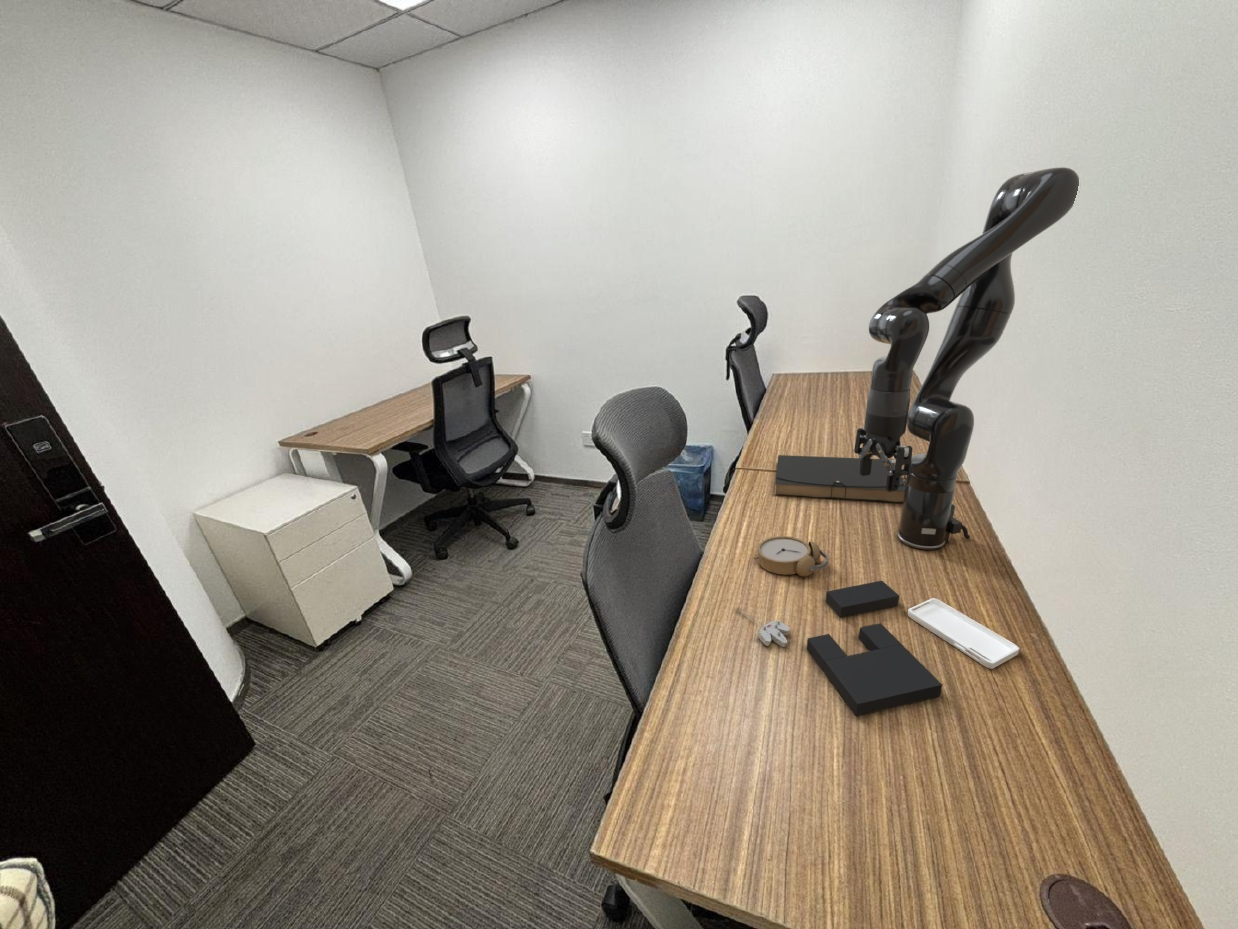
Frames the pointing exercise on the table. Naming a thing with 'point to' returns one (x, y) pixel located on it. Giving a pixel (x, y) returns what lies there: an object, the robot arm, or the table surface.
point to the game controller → (773, 633)
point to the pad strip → (862, 599)
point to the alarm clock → (789, 556)
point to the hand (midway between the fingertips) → (877, 482)
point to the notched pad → (874, 671)
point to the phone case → (964, 633)
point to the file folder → (834, 479)
